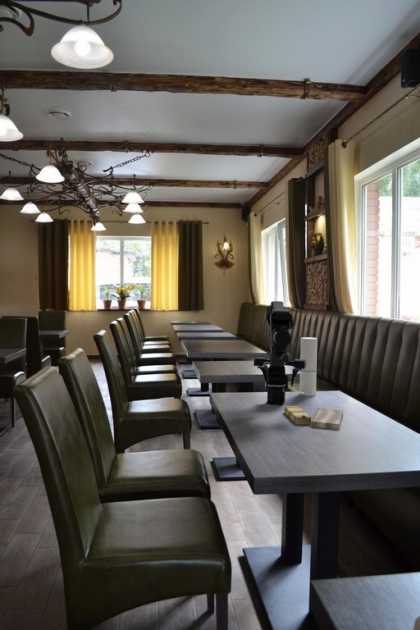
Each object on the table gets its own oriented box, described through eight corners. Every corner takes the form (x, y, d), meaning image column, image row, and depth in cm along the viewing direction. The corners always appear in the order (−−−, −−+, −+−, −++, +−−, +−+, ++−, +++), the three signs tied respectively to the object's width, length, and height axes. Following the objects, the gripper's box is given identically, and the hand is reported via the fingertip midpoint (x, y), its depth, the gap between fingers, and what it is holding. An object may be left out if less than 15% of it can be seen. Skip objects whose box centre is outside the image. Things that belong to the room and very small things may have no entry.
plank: (284, 412, 175) (284, 404, 175) (297, 412, 176) (297, 404, 176) (297, 424, 159) (297, 416, 158) (311, 424, 159) (311, 416, 159)
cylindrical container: (314, 393, 212) (316, 337, 211) (316, 396, 204) (318, 339, 203) (298, 392, 212) (300, 337, 211) (300, 395, 205) (301, 338, 204)
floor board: (311, 426, 157) (311, 421, 157) (317, 412, 176) (318, 407, 175) (339, 429, 154) (339, 423, 154) (342, 415, 173) (343, 410, 173)
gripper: (250, 344, 169) (249, 388, 169) (303, 347, 163) (302, 392, 164) (257, 342, 179) (256, 382, 180) (306, 344, 174) (305, 386, 174)
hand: (279, 386), depth 174 cm, fingers open, 9 cm apart
